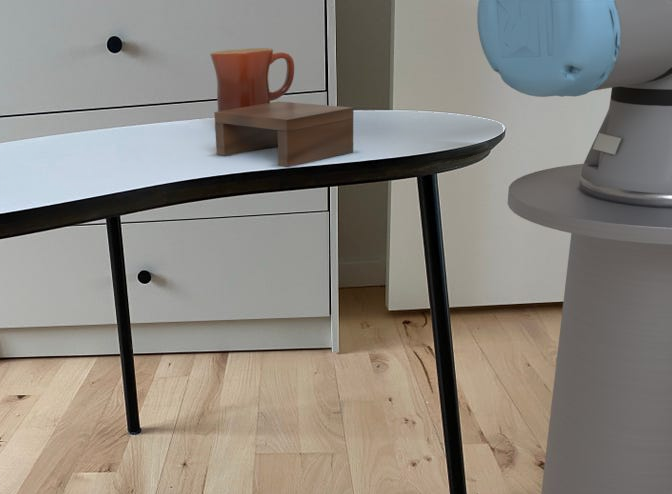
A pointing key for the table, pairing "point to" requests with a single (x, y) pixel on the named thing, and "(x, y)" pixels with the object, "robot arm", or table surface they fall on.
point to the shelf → (286, 131)
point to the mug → (247, 77)
